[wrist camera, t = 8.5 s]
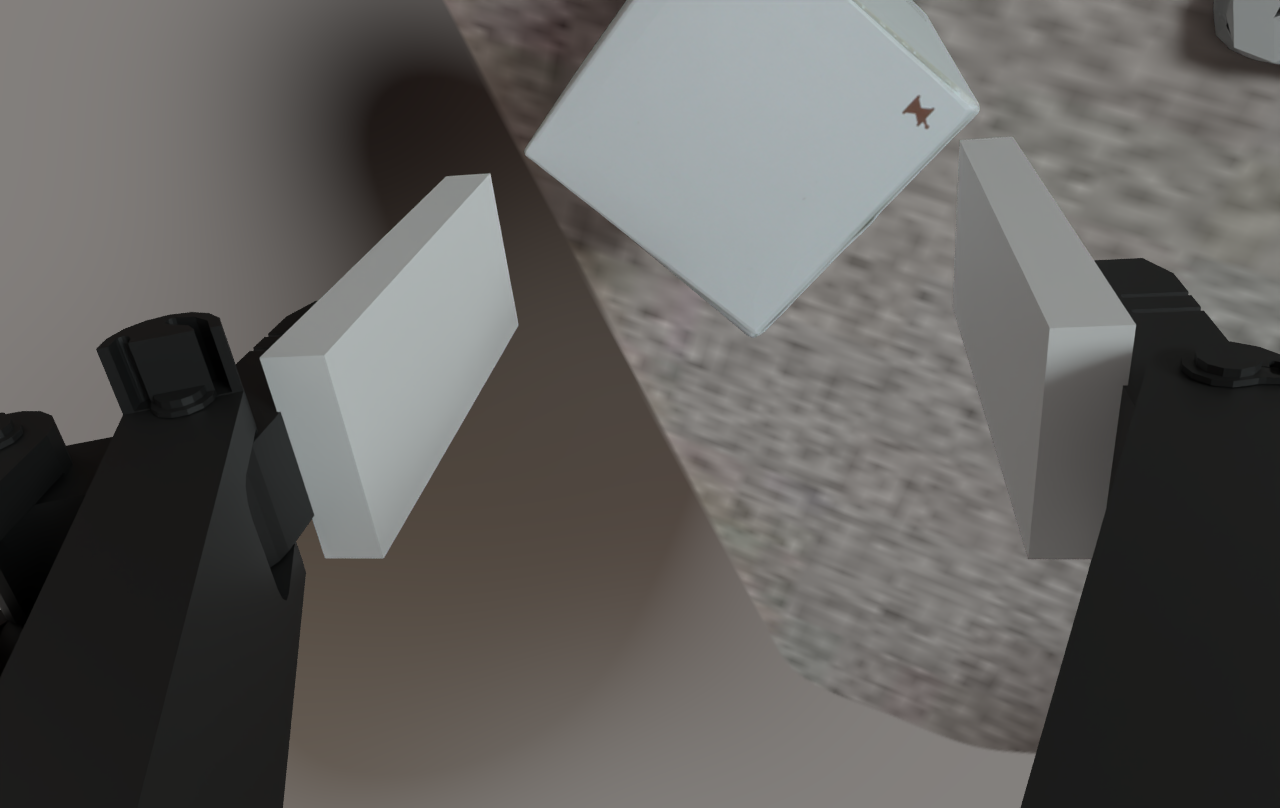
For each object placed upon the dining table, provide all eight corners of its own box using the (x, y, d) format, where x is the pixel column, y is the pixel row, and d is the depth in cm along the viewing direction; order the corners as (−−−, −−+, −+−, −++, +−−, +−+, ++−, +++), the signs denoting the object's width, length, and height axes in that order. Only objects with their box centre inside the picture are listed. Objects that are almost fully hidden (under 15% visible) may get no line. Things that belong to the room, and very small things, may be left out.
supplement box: (754, -152, 30) (724, -138, 19) (931, 15, 32) (996, 114, 21) (607, 46, 34) (511, 152, 23) (773, 188, 35) (758, 350, 24)
